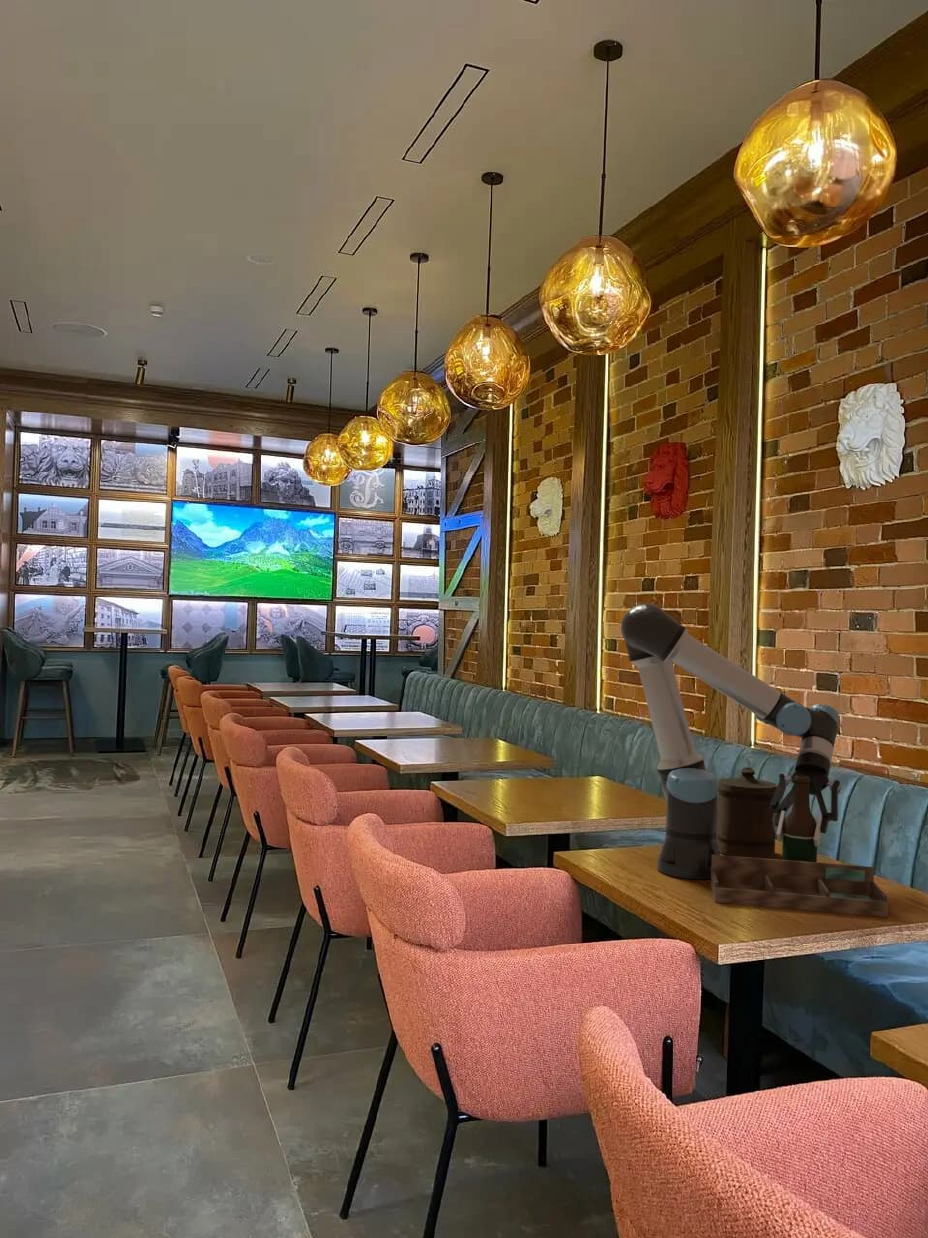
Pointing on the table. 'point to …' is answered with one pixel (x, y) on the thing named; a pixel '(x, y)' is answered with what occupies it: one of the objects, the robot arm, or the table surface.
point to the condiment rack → (797, 885)
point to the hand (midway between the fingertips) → (797, 840)
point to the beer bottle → (800, 826)
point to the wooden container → (746, 816)
